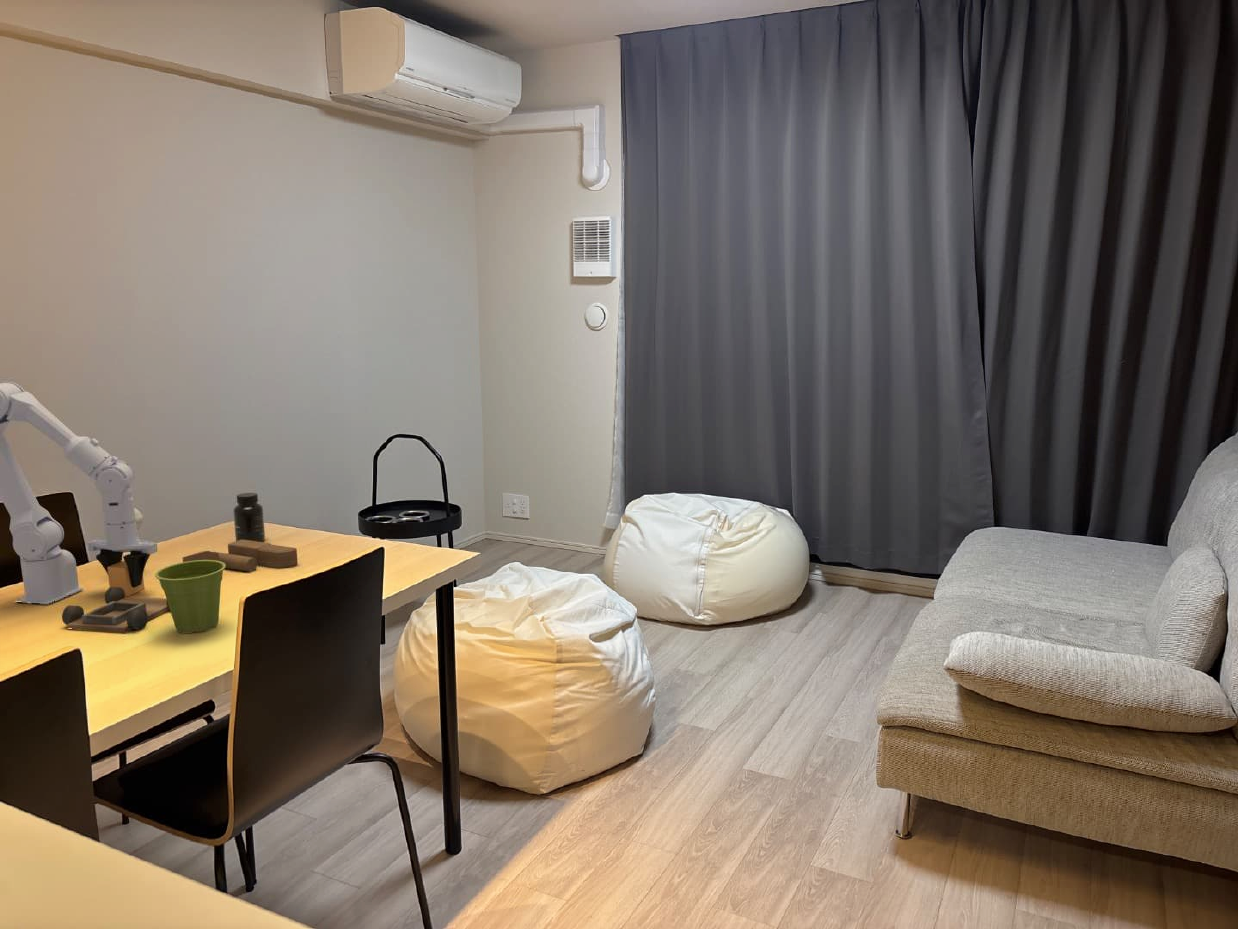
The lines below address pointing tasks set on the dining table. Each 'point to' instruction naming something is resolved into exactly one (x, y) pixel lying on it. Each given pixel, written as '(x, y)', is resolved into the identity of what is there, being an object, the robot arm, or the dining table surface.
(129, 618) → the chassis board
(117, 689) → the dining table surface
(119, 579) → the tan wooden cube
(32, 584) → the robot arm
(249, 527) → the supplement bottle
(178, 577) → the plant pot
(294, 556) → the wooden block set
